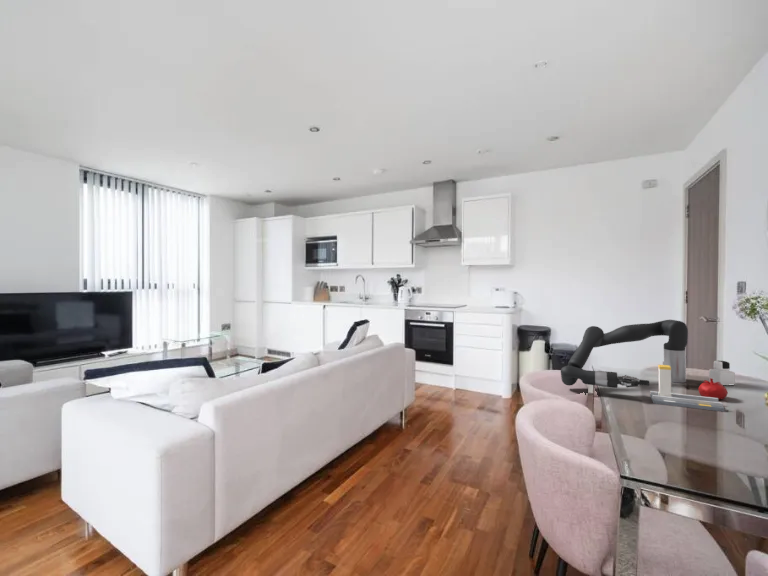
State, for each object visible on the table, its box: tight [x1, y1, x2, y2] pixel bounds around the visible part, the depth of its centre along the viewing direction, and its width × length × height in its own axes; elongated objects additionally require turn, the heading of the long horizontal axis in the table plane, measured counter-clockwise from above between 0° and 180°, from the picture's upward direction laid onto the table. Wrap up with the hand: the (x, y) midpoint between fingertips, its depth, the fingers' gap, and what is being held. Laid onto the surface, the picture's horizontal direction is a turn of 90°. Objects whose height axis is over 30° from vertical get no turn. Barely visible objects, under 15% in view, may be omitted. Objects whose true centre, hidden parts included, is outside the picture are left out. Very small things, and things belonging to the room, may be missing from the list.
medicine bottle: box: [708, 360, 736, 385], centre depth 185 cm, size 7×7×12 cm
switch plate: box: [649, 390, 725, 413], centre depth 159 cm, size 24×11×3 cm, turn 59°
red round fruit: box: [697, 378, 728, 401], centre depth 165 cm, size 10×10×9 cm
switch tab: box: [657, 364, 672, 397], centre depth 163 cm, size 4×5×15 cm
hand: (649, 383), depth 166 cm, fingers closed
